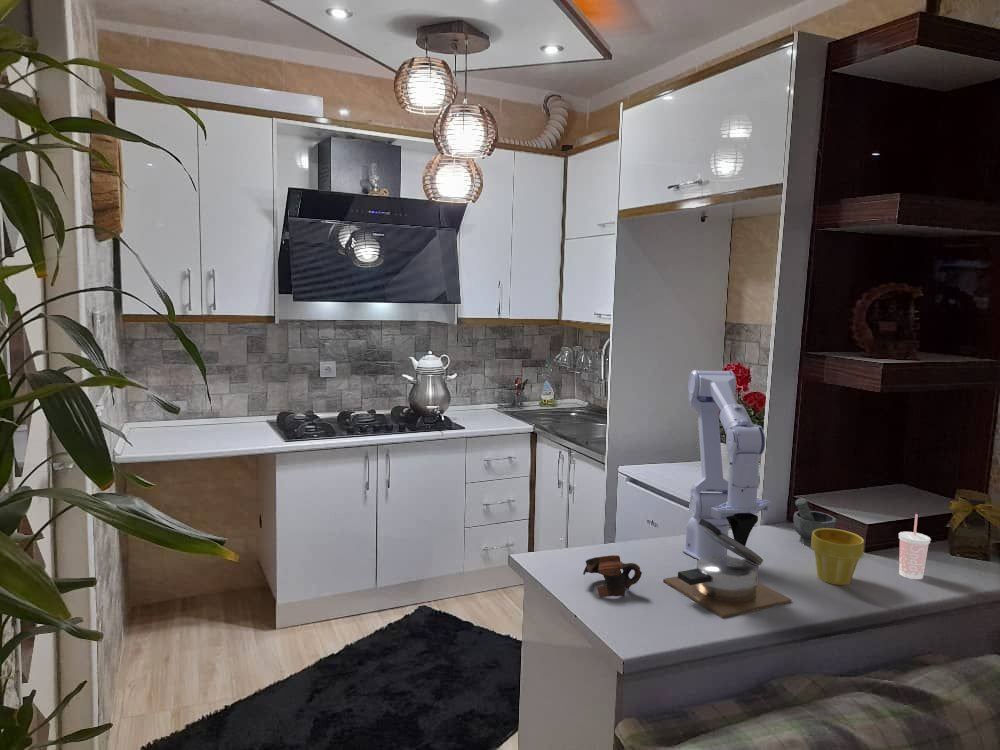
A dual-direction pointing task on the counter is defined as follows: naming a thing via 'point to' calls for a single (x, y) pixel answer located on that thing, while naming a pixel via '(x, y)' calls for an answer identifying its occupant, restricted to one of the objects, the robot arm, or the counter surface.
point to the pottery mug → (613, 574)
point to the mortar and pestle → (810, 521)
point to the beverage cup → (913, 553)
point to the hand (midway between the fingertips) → (739, 547)
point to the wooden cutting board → (726, 586)
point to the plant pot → (836, 554)
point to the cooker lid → (730, 543)
